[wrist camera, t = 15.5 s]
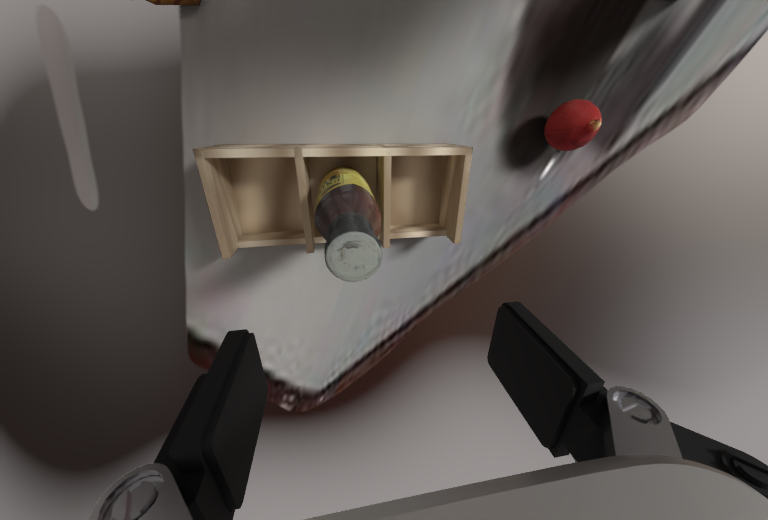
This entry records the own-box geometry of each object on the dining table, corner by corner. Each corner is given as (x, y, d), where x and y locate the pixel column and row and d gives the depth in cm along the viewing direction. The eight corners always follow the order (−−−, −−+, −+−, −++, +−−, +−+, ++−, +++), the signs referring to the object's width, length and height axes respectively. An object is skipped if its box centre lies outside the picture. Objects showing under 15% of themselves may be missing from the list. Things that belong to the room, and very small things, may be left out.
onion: (575, 128, 40) (629, 129, 32) (541, 157, 41) (586, 164, 33) (560, 92, 37) (615, 84, 30) (524, 123, 38) (569, 122, 31)
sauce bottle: (329, 156, 35) (329, 189, 17) (374, 177, 37) (416, 225, 19) (311, 204, 37) (295, 277, 19) (355, 221, 39) (377, 302, 21)
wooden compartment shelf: (449, 143, 37) (473, 147, 31) (441, 226, 42) (460, 243, 36) (218, 144, 33) (192, 149, 27) (240, 236, 38) (222, 258, 32)
